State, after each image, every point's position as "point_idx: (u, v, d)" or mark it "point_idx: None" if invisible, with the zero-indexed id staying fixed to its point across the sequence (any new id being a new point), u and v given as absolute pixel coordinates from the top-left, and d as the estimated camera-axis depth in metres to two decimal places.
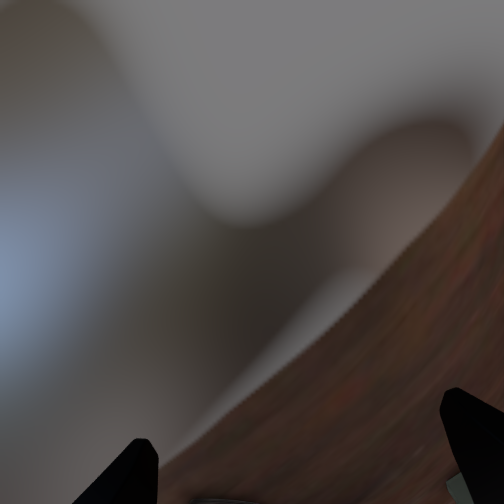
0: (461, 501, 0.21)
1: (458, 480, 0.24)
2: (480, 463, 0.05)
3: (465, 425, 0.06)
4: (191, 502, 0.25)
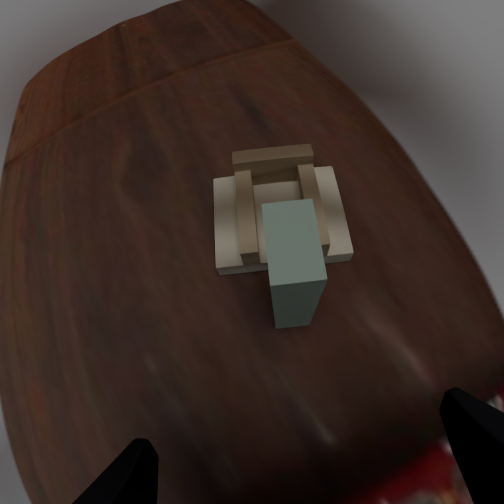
0: None
1: None
2: (480, 463, 0.05)
3: (465, 425, 0.06)
4: None
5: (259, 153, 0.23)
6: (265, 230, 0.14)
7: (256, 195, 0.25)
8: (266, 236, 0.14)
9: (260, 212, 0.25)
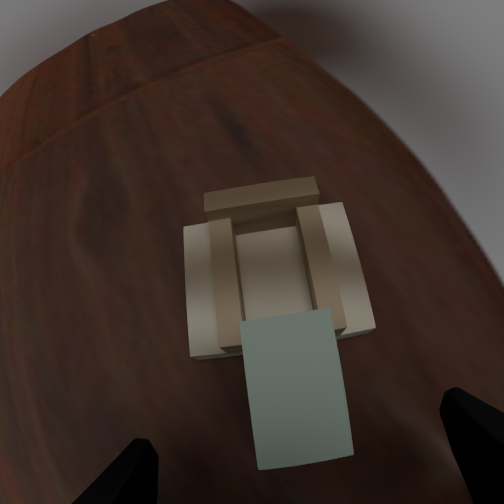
0: None
1: None
2: (480, 463, 0.05)
3: (465, 425, 0.06)
4: None
5: (241, 194, 0.17)
6: (247, 374, 0.08)
7: (241, 250, 0.19)
8: (249, 386, 0.08)
9: (247, 275, 0.18)
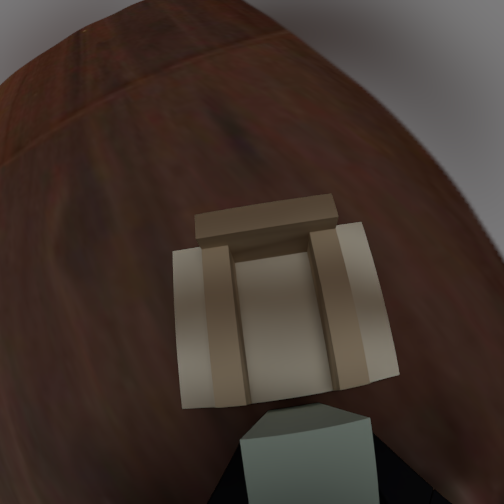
0: None
1: None
2: None
3: None
4: None
5: (242, 216, 0.13)
6: None
7: (241, 281, 0.15)
8: None
9: (249, 313, 0.15)
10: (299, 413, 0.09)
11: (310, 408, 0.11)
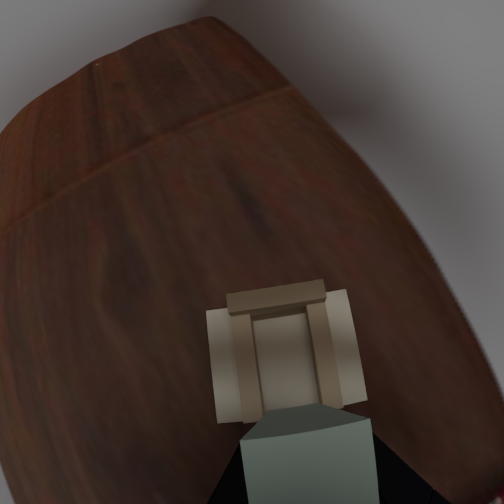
0: None
1: None
2: None
3: None
4: None
5: (260, 296, 0.19)
6: None
7: (257, 335, 0.21)
8: None
9: (263, 358, 0.21)
10: (299, 413, 0.09)
11: (310, 408, 0.11)
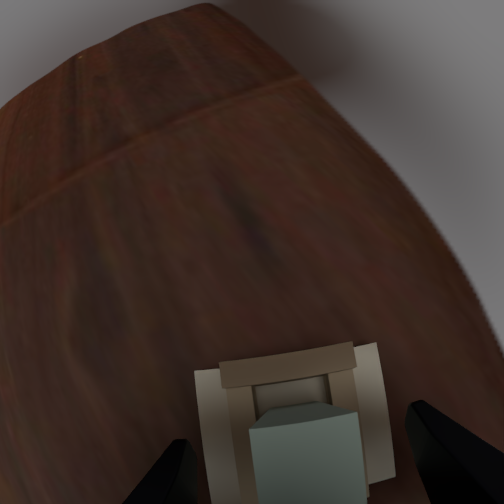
0: None
1: None
2: (443, 481, 0.05)
3: (426, 441, 0.06)
4: None
5: (265, 367, 0.13)
6: (258, 486, 0.06)
7: (261, 404, 0.15)
8: (260, 497, 0.05)
9: None
10: (298, 409, 0.10)
11: (308, 405, 0.12)
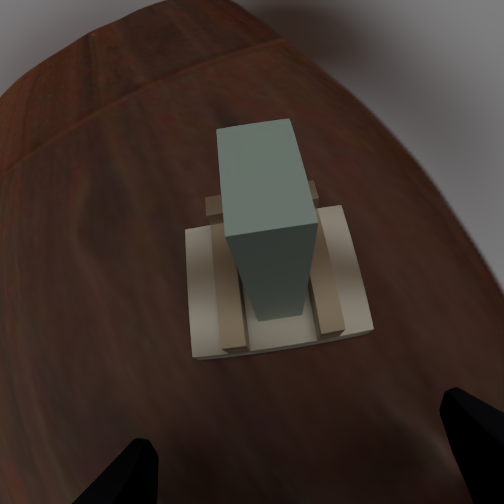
0: None
1: None
2: (480, 463, 0.05)
3: (465, 425, 0.06)
4: None
5: None
6: (220, 160, 0.09)
7: None
8: (221, 168, 0.09)
9: None
10: None
11: None
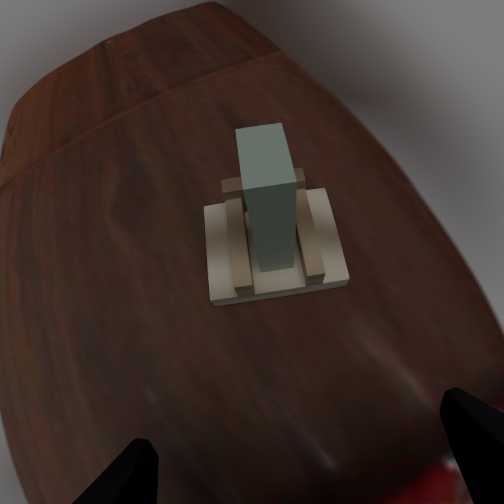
0: None
1: None
2: (480, 463, 0.05)
3: (465, 425, 0.06)
4: None
5: None
6: (238, 148, 0.15)
7: (248, 222, 0.25)
8: (239, 152, 0.15)
9: (253, 241, 0.24)
10: None
11: None
